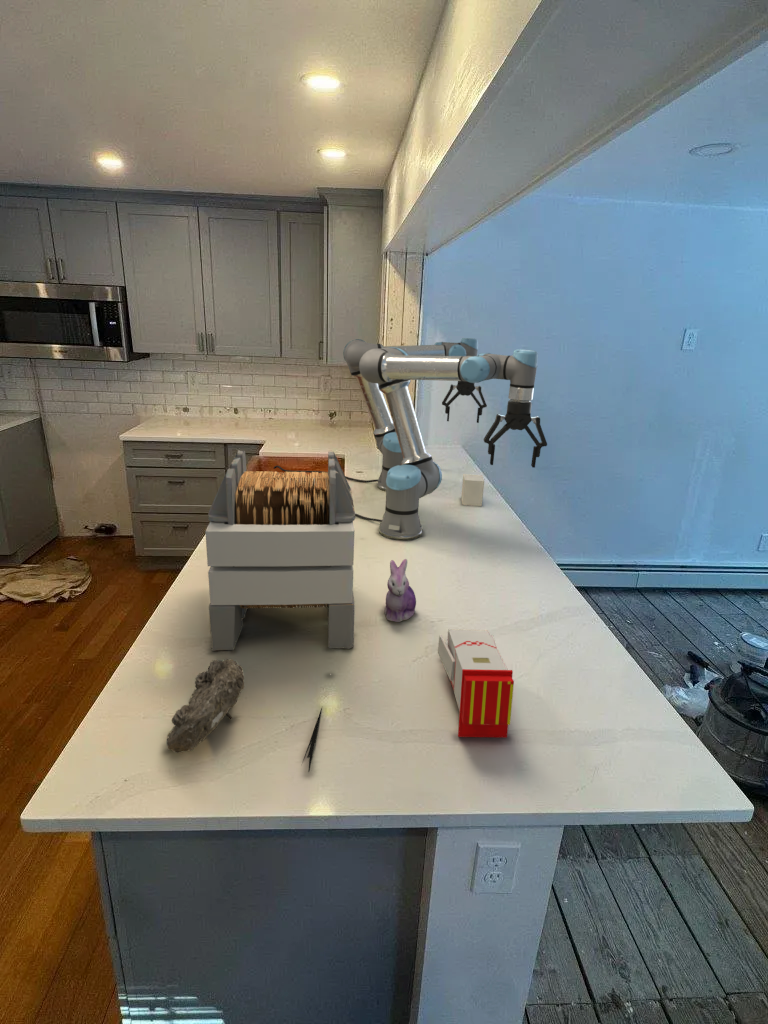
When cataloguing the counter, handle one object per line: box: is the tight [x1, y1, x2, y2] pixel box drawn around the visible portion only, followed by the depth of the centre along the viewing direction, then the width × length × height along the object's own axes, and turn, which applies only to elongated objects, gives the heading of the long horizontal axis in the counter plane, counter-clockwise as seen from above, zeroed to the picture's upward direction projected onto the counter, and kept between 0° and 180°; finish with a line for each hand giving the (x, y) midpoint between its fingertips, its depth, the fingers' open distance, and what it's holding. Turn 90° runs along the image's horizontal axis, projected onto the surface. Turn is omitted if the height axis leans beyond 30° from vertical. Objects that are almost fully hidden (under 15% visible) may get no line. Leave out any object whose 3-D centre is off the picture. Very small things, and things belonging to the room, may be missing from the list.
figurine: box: [384, 558, 417, 623], centre depth 145 cm, size 9×10×15 cm
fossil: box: [166, 658, 245, 754], centre depth 106 cm, size 22×10×15 cm
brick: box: [460, 473, 485, 507], centre depth 235 cm, size 9×8×11 cm
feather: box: [301, 673, 332, 771], centre depth 108 cm, size 2×28×2 cm
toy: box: [437, 628, 515, 738], centre depth 117 cm, size 12×13×30 cm
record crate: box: [204, 449, 356, 652], centre depth 138 cm, size 34×33×41 cm
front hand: (512, 465), depth 187 cm, fingers open, 13 cm apart
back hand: (462, 421), depth 260 cm, fingers open, 13 cm apart
